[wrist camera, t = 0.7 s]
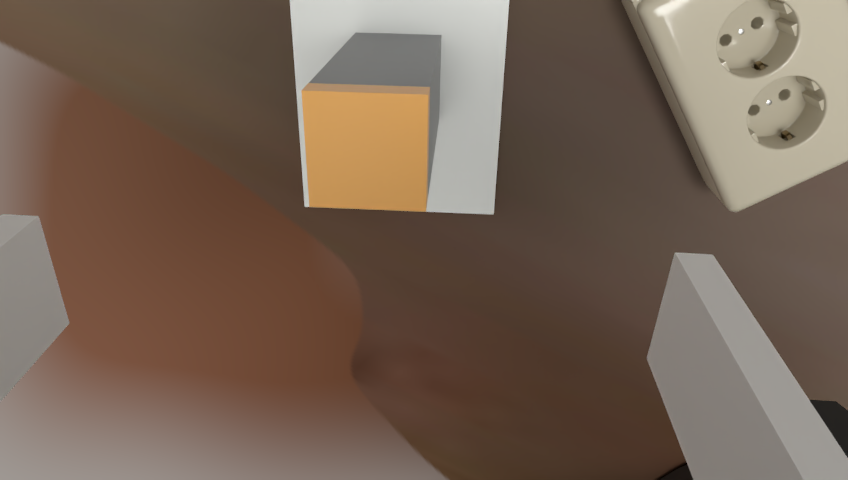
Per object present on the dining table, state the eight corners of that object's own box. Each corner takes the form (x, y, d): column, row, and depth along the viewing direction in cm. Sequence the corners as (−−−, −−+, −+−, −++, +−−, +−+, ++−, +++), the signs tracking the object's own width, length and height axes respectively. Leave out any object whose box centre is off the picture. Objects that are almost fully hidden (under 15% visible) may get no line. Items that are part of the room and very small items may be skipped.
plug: (439, 119, 32) (426, 211, 22) (357, 116, 32) (309, 206, 22) (441, 34, 30) (428, 94, 20) (355, 32, 30) (301, 90, 20)
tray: (493, 210, 34) (493, 214, 34) (306, 203, 35) (304, 206, 34) (514, -85, 28) (515, -85, 28) (286, -90, 29) (283, -90, 28)
